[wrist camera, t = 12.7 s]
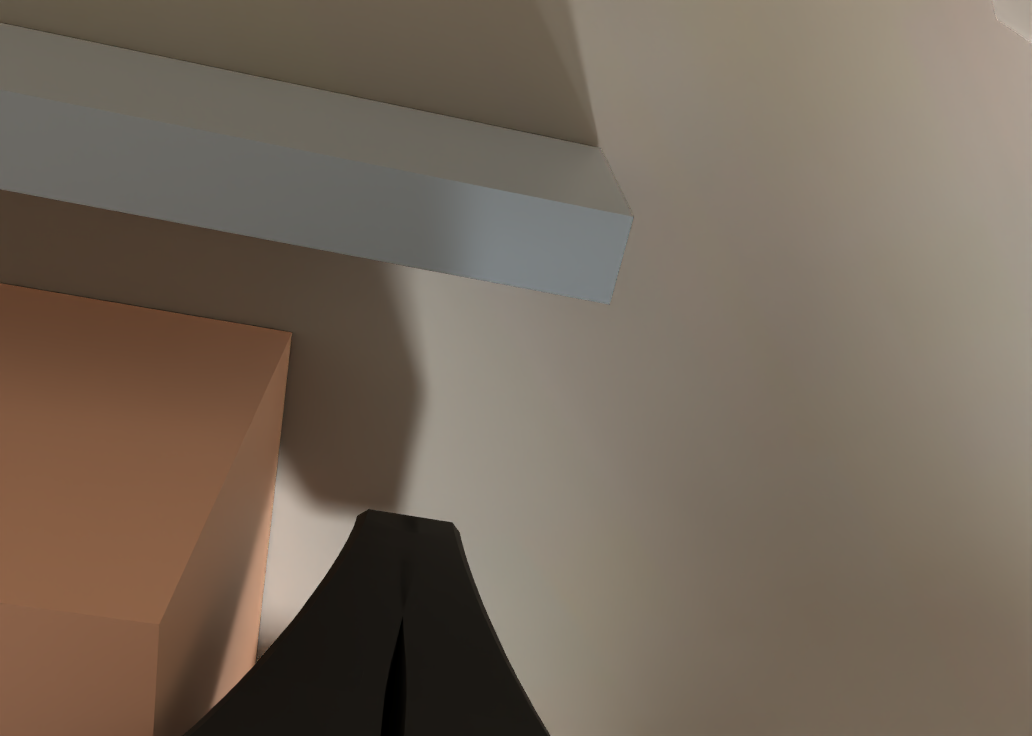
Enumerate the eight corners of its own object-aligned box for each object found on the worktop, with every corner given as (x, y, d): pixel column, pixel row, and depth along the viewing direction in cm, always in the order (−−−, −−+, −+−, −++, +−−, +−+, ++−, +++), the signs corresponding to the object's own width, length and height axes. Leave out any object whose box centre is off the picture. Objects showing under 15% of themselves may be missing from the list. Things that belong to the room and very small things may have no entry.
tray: (600, 147, 10) (633, 216, 8) (428, 833, 15) (419, 999, 13) (-498, -81, 9) (-821, -76, 7) (-327, 741, 14) (-489, 910, 11)
